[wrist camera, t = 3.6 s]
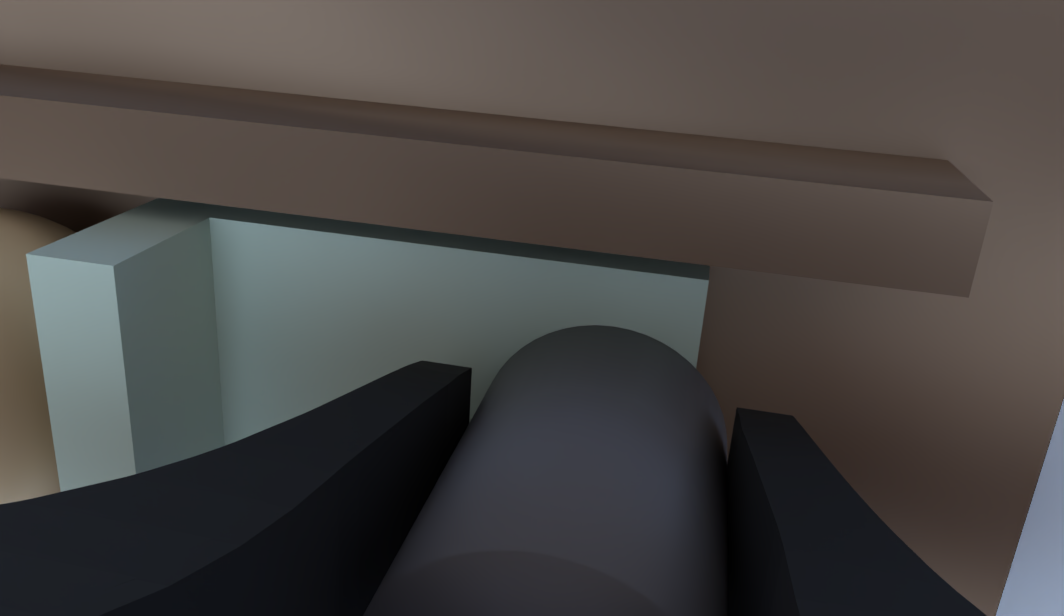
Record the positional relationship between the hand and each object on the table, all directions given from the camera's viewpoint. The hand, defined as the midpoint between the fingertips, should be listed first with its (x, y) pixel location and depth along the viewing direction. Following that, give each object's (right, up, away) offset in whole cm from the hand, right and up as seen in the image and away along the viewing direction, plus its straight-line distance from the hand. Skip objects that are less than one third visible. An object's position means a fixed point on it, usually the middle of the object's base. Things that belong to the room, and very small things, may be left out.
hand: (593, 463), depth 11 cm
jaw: (-2, +1, +2) cm, 3 cm away
